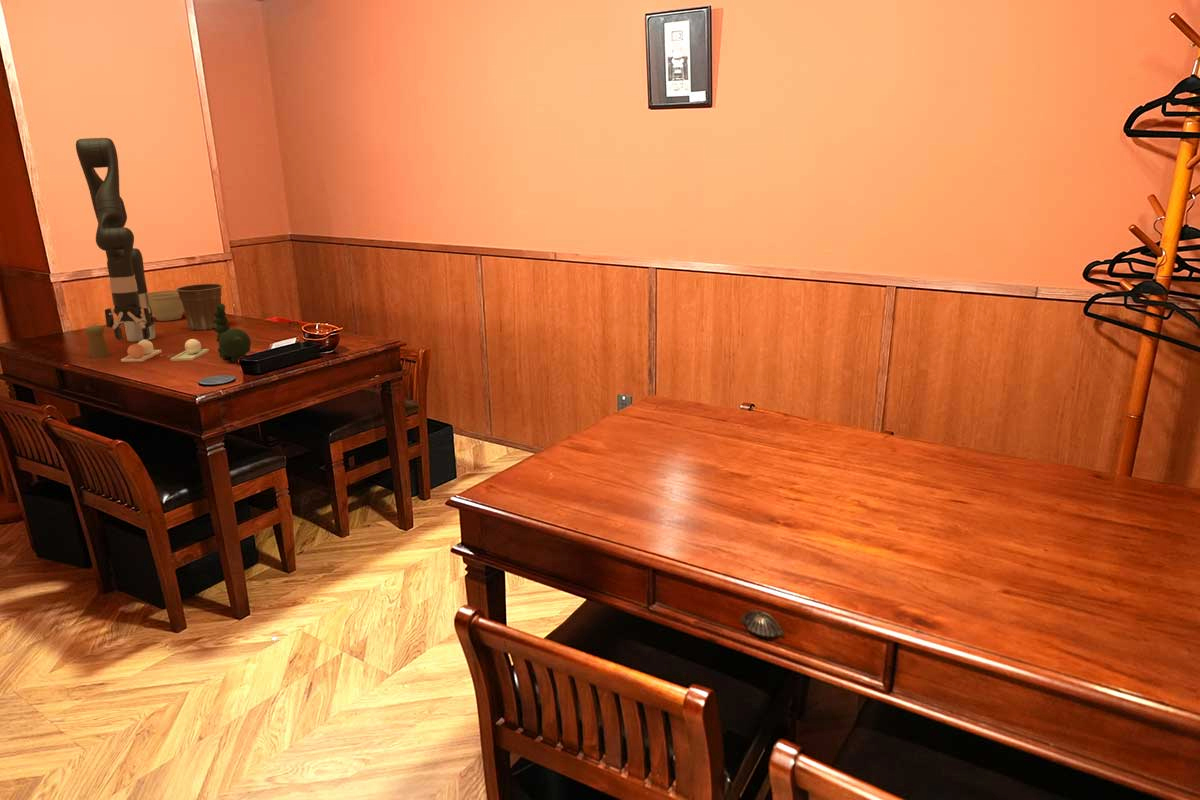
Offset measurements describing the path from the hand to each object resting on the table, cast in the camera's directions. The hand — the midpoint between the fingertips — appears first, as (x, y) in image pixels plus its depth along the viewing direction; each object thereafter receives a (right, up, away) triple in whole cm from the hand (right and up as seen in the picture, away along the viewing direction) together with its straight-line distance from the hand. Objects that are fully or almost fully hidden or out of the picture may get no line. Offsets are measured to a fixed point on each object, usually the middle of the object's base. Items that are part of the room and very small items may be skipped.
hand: (133, 339), depth 267 cm
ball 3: (+16, -4, +9) cm, 18 cm away
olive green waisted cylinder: (-15, -6, +7) cm, 18 cm away
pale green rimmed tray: (+16, -6, +6) cm, 18 cm away
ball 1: (0, -6, +2) cm, 7 cm away
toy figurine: (+32, -7, +3) cm, 33 cm away
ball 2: (0, -5, +8) cm, 9 cm away
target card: (+8, -6, +6) cm, 11 cm away
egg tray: (0, -6, +5) cm, 8 cm away
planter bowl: (-26, +14, +70) cm, 76 cm away
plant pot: (-2, +9, +53) cm, 54 cm away
